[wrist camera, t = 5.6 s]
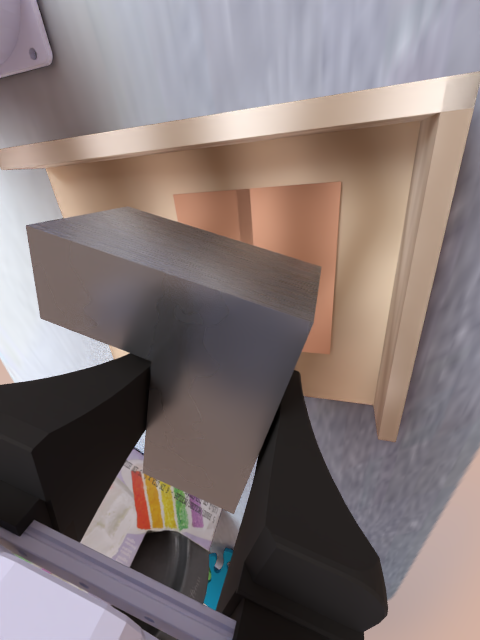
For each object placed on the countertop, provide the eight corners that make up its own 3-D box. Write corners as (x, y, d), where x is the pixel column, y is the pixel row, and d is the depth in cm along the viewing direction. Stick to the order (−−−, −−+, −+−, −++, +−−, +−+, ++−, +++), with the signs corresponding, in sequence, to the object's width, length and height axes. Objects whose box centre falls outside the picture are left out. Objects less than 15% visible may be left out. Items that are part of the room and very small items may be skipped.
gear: (281, 584, 36) (242, 671, 34) (279, 559, 42) (245, 632, 40) (207, 531, 39) (166, 609, 37) (214, 514, 44) (179, 581, 42)
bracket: (259, 426, 15) (233, 513, 11) (124, 372, 16) (59, 435, 12) (321, 266, 11) (313, 322, 7) (127, 206, 12) (26, 225, 8)
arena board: (122, 367, 28) (95, 393, 25) (47, 151, 19) (-7, 150, 16) (387, 401, 21) (395, 442, 18) (448, 91, 13) (482, 71, 10)
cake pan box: (233, 510, 34) (154, 775, 20) (213, 522, 37) (131, 762, 22) (98, 418, 33) (-92, 626, 19) (88, 437, 36) (-85, 631, 21)
